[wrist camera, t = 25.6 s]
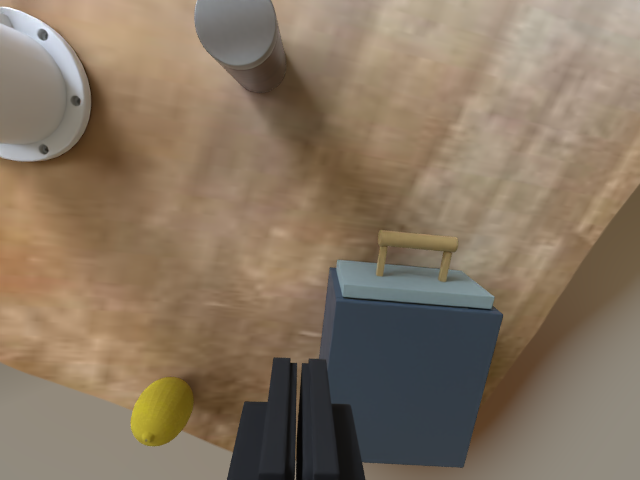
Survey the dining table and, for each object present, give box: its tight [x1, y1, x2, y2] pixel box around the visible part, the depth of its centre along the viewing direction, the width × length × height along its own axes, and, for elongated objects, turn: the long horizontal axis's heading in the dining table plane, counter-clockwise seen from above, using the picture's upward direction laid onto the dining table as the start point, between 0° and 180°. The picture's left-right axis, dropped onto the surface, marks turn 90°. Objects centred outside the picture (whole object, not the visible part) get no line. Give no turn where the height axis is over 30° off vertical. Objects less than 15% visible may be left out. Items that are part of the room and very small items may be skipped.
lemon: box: [131, 377, 194, 446], centre depth 35 cm, size 6×6×8 cm
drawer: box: [336, 230, 495, 309], centre depth 34 cm, size 20×13×7 cm
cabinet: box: [319, 268, 503, 468], centre depth 35 cm, size 16×14×8 cm
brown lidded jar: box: [194, 0, 286, 93], centre depth 26 cm, size 5×5×10 cm
